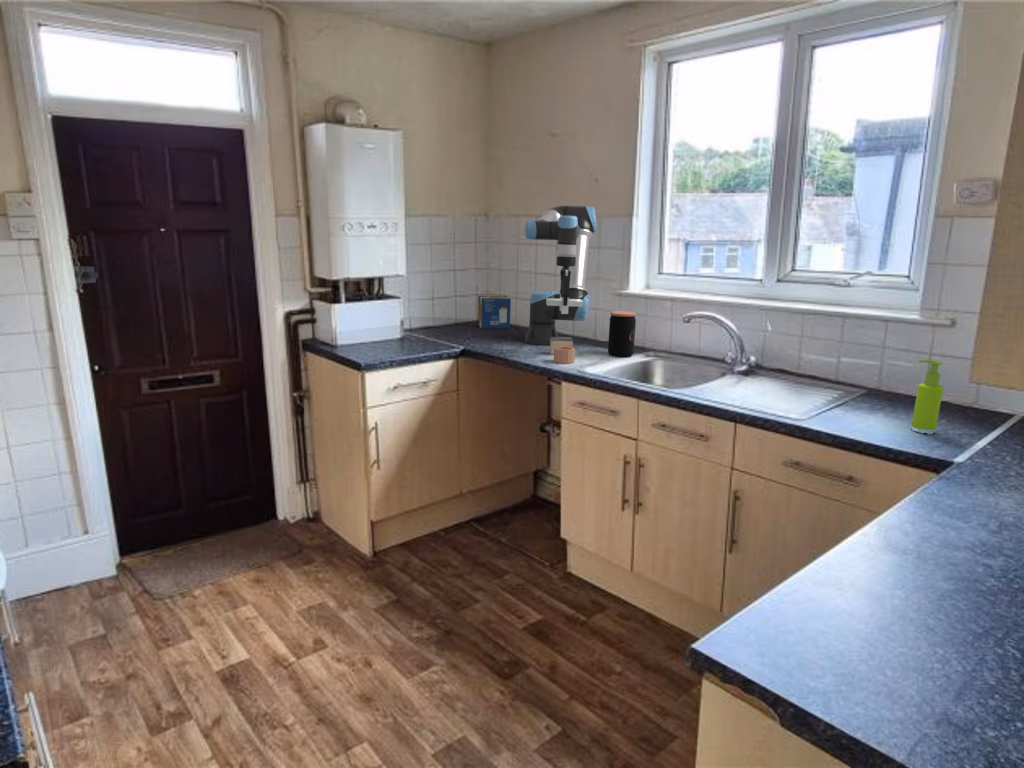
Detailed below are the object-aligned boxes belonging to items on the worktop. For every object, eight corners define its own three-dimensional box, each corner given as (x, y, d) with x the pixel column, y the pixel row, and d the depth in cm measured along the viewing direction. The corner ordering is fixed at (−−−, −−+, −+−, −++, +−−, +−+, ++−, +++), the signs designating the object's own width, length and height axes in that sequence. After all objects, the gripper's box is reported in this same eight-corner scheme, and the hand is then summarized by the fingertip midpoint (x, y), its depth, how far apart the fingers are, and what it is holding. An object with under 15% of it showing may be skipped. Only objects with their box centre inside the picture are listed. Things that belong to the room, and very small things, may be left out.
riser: (549, 352, 284) (550, 337, 283) (571, 352, 284) (571, 337, 283) (550, 354, 278) (551, 339, 277) (572, 355, 278) (573, 340, 277)
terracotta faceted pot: (553, 359, 270) (553, 346, 268) (573, 359, 270) (573, 346, 268) (554, 363, 262) (554, 349, 260) (574, 364, 262) (575, 350, 260)
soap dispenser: (912, 425, 192) (924, 357, 187) (938, 432, 187) (951, 362, 182) (902, 429, 189) (915, 359, 184) (929, 435, 183) (942, 364, 178)
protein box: (477, 325, 349) (477, 295, 346) (506, 324, 353) (507, 295, 349) (480, 328, 340) (481, 297, 336) (510, 328, 343) (511, 297, 339)
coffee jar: (633, 358, 275) (636, 314, 271) (606, 356, 277) (609, 313, 273) (633, 353, 285) (636, 311, 281) (608, 352, 287) (611, 310, 283)
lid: (546, 303, 273) (546, 298, 273) (580, 304, 273) (580, 299, 273) (547, 305, 264) (547, 300, 263) (582, 306, 264) (582, 301, 263)
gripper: (555, 254, 275) (552, 309, 280) (558, 256, 253) (555, 315, 258) (573, 255, 275) (570, 309, 280) (578, 257, 253) (575, 315, 258)
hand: (563, 312), depth 269 cm, fingers closed on lid, 10 cm apart
